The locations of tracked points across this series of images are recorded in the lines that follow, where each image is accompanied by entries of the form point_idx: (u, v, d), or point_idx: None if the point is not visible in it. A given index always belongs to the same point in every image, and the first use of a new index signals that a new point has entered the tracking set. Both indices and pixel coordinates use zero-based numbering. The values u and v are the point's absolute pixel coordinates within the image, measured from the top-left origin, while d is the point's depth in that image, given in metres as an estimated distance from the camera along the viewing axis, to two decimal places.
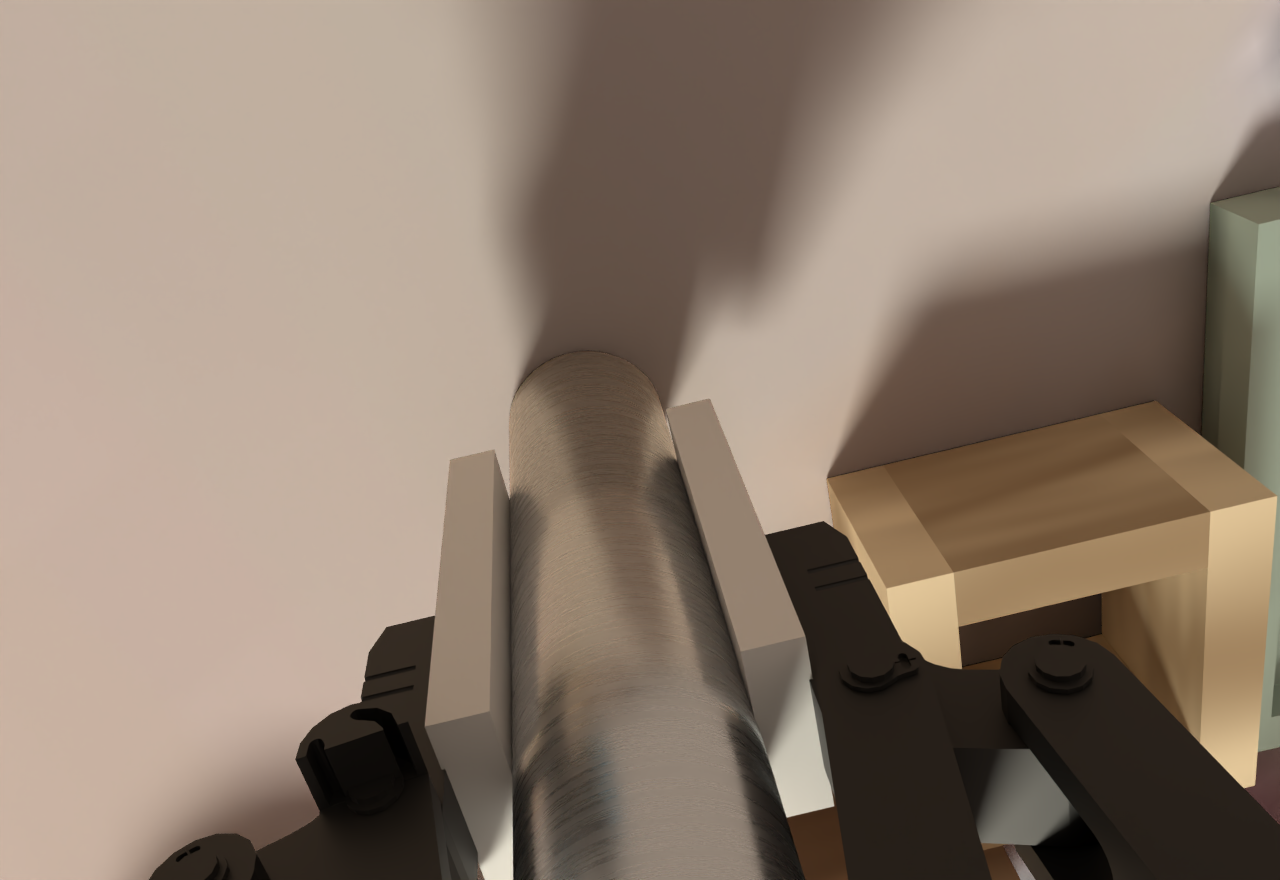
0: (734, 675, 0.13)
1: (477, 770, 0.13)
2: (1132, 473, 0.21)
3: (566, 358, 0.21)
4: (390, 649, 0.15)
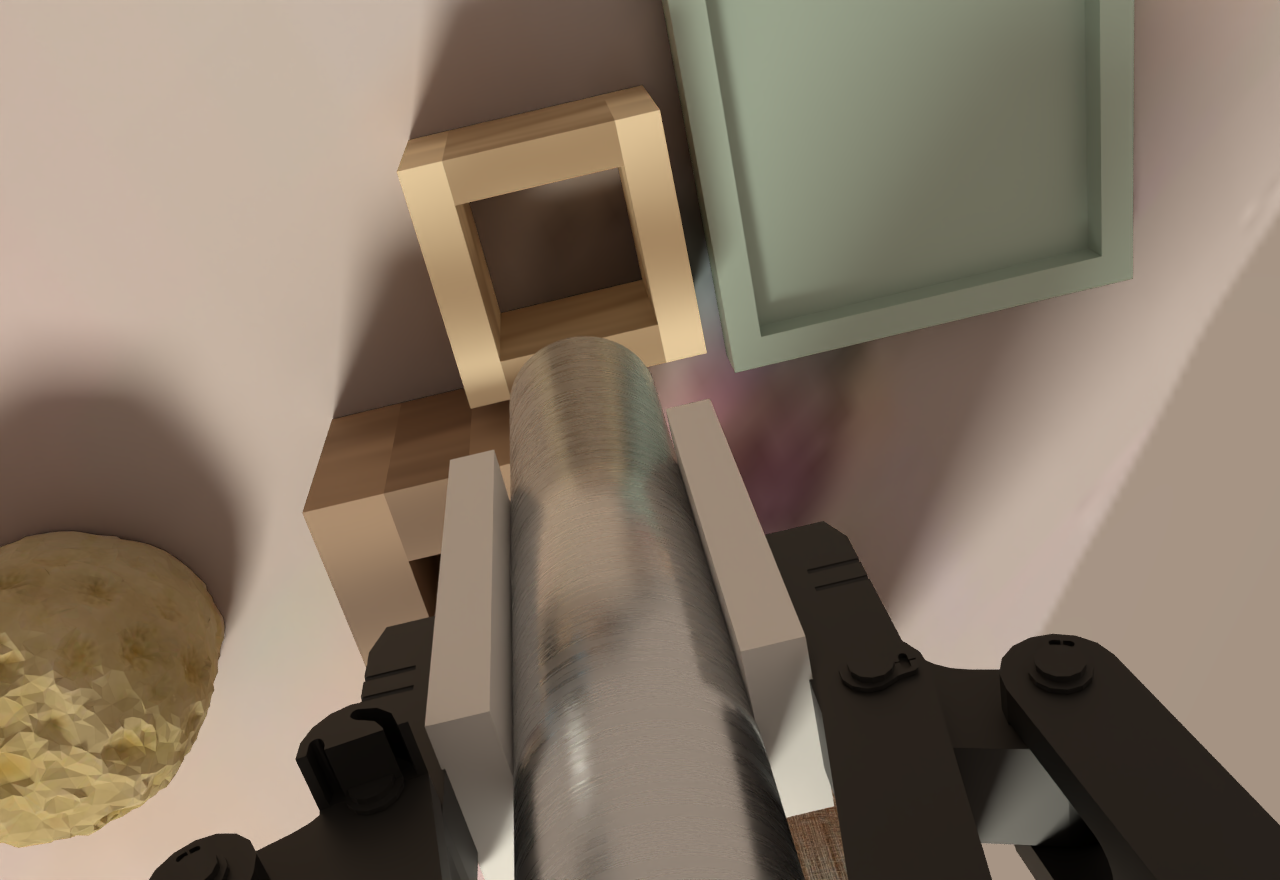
0: (721, 633, 0.14)
1: (478, 770, 0.13)
2: (590, 113, 0.30)
3: (564, 343, 0.21)
4: (390, 648, 0.15)
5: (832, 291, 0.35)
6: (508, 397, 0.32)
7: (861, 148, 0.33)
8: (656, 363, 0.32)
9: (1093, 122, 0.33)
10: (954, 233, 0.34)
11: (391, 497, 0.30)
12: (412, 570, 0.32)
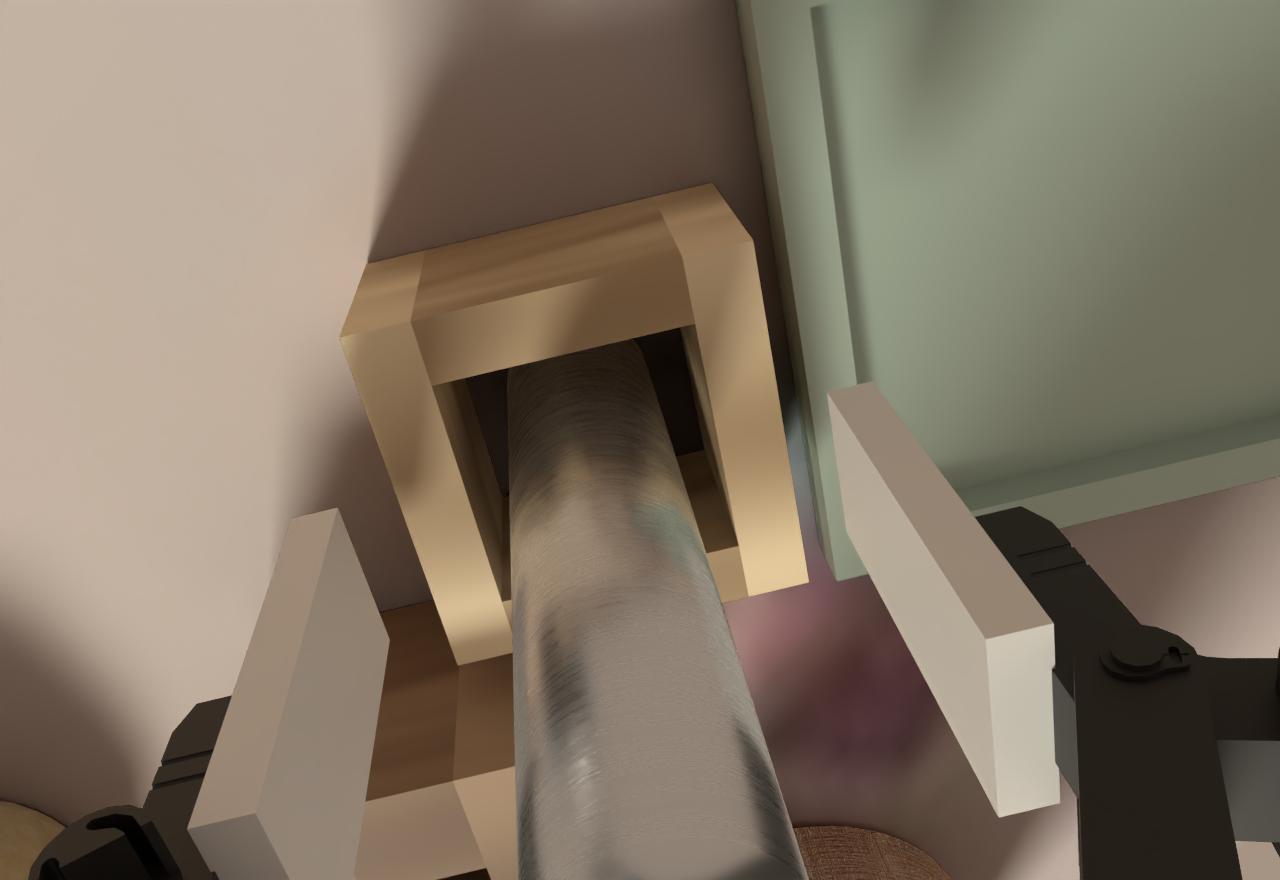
0: (708, 583, 0.15)
1: (249, 872, 0.12)
2: (640, 236, 0.20)
3: None
4: (193, 729, 0.14)
5: (974, 464, 0.24)
6: None
7: (1028, 270, 0.23)
8: (733, 596, 0.21)
9: None
10: (1151, 385, 0.24)
11: None
12: None
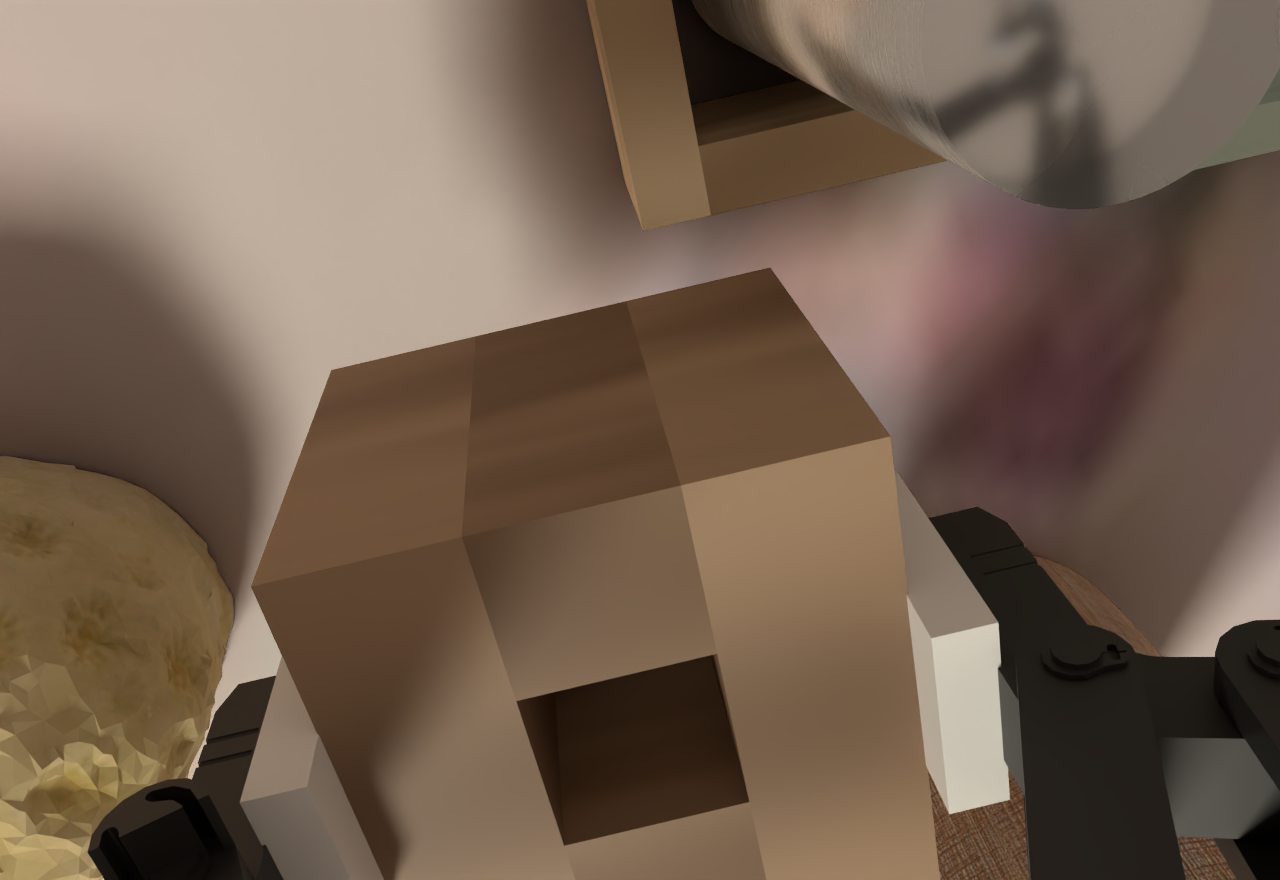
0: None
1: (301, 846, 0.12)
2: None
3: None
4: (236, 709, 0.14)
5: None
6: (706, 212, 0.19)
7: None
8: None
9: None
10: None
11: (481, 548, 0.12)
12: (523, 721, 0.13)
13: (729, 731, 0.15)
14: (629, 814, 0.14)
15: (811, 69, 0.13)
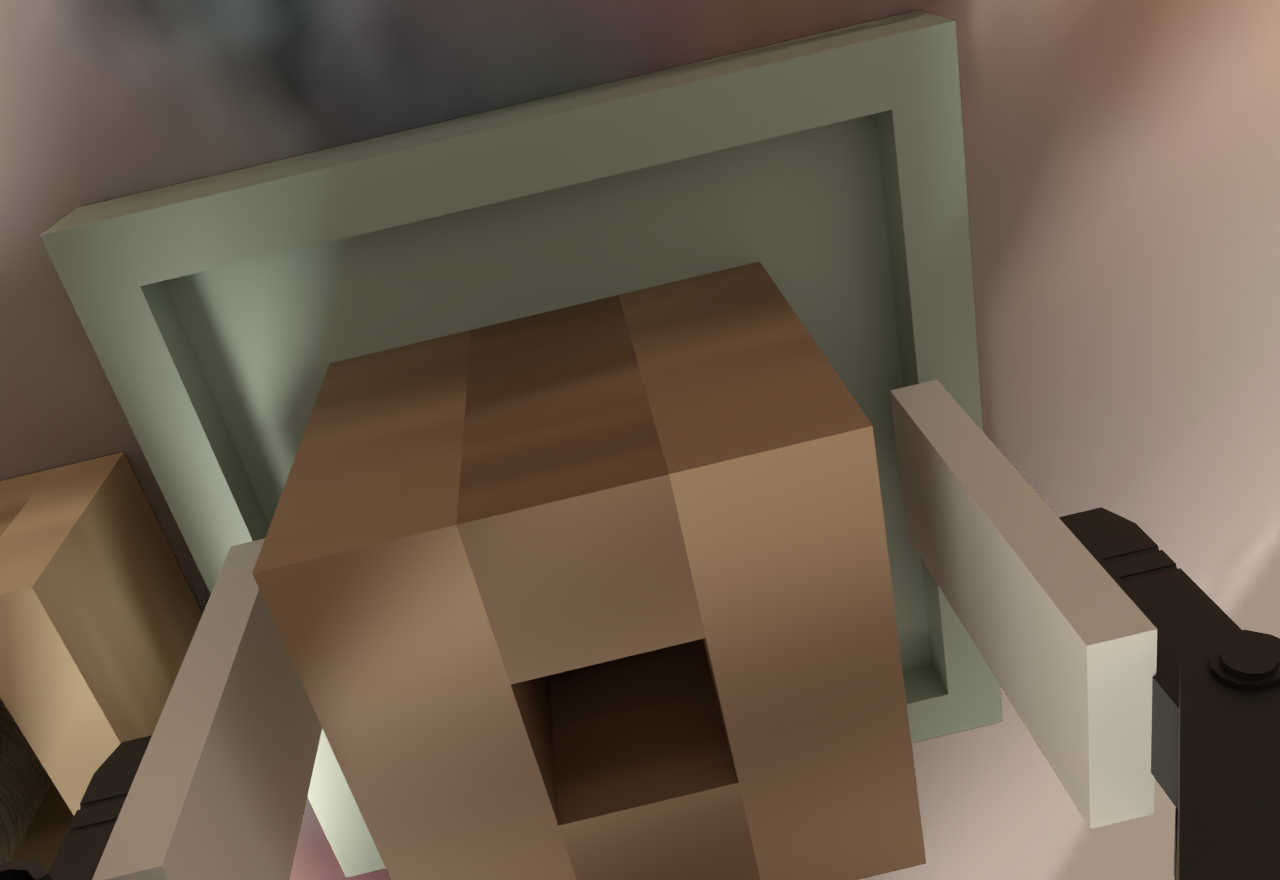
0: None
1: None
2: None
3: None
4: (116, 769, 0.14)
5: None
6: None
7: None
8: None
9: None
10: None
11: (476, 535, 0.12)
12: (518, 704, 0.13)
13: (719, 714, 0.15)
14: (621, 795, 0.14)
15: None
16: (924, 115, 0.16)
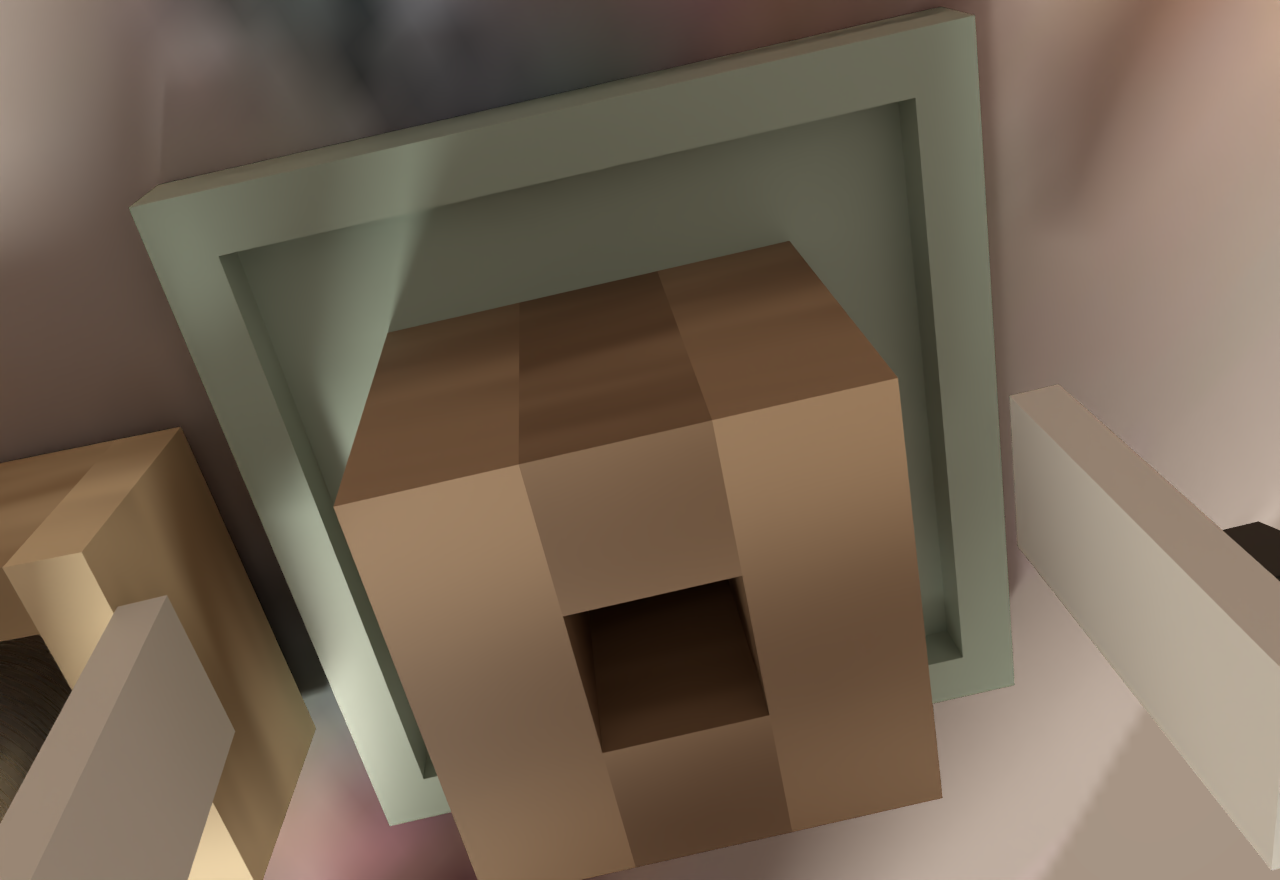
0: None
1: None
2: (24, 514, 0.17)
3: None
4: None
5: None
6: None
7: None
8: None
9: (939, 468, 0.20)
10: None
11: (535, 474, 0.13)
12: (568, 635, 0.15)
13: (750, 657, 0.17)
14: (661, 726, 0.16)
15: None
16: (945, 103, 0.17)
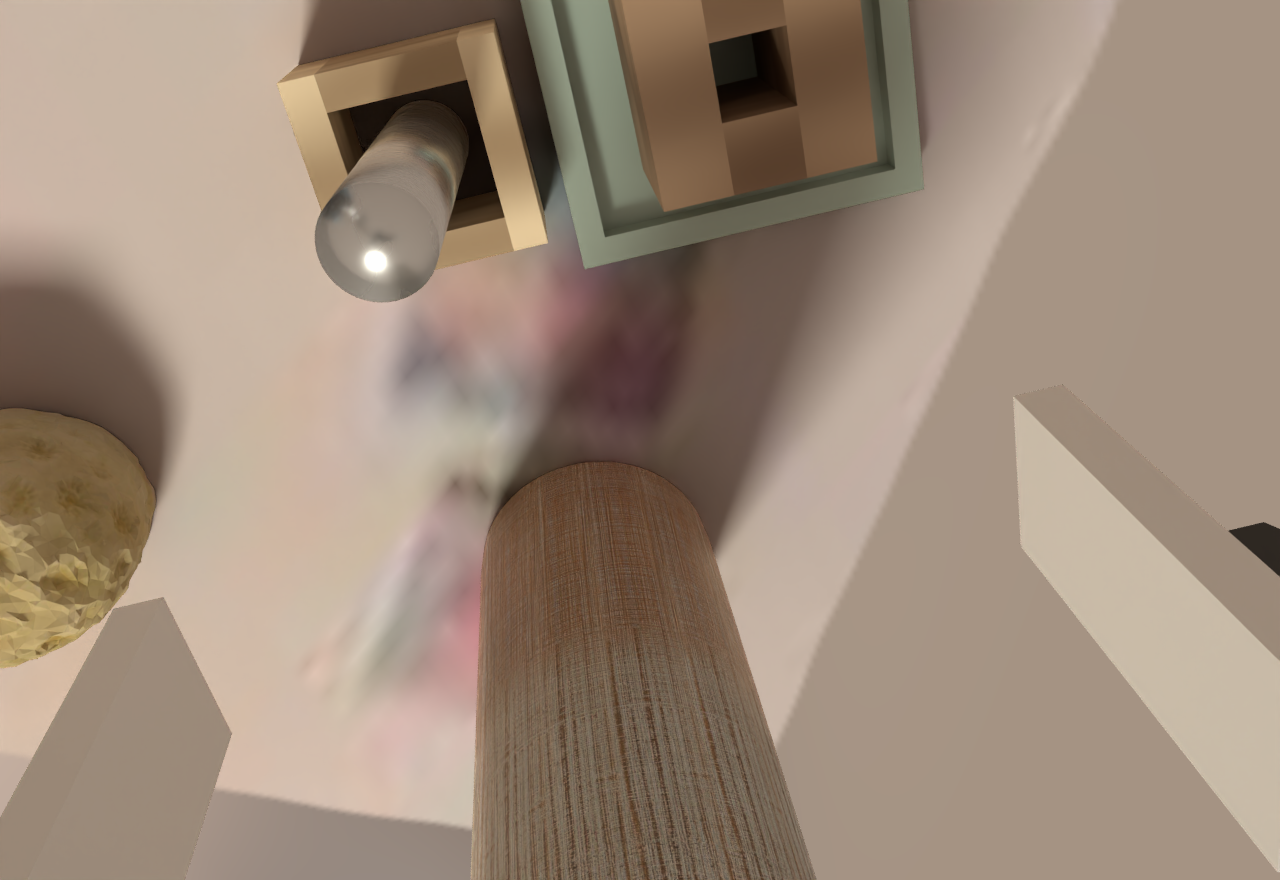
0: (439, 165, 0.31)
1: None
2: (442, 38, 0.36)
3: (412, 102, 0.39)
4: None
5: None
6: None
7: None
8: (505, 252, 0.38)
9: (880, 52, 0.39)
10: None
11: None
12: (710, 56, 0.33)
13: (787, 98, 0.35)
14: (747, 115, 0.34)
15: None
16: None
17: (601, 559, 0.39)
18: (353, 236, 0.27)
